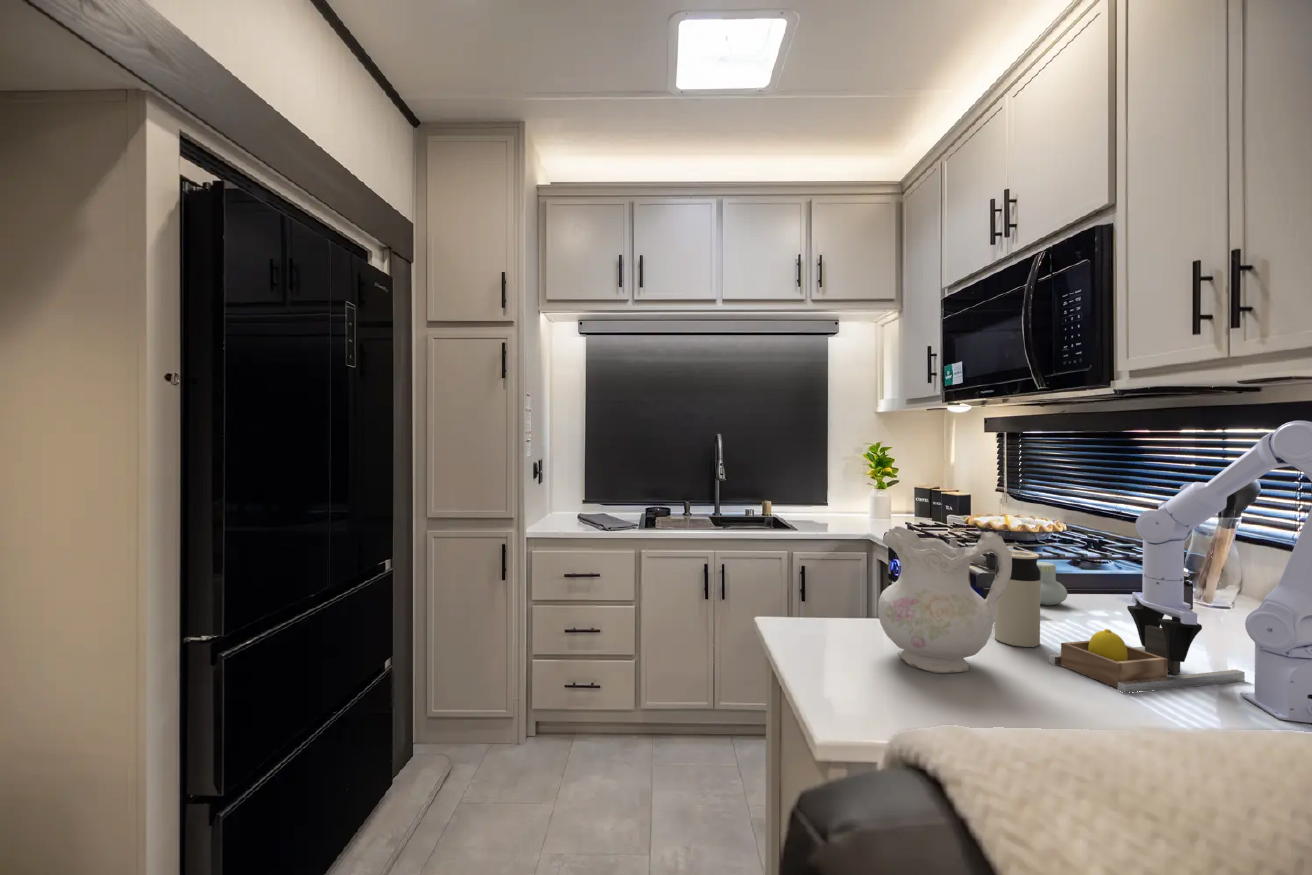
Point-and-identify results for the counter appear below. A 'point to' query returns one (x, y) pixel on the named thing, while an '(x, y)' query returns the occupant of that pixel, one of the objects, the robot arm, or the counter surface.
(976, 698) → the counter surface
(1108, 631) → the lemon
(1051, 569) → the air freshener
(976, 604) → the ceramic pitcher
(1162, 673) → the wooden tray
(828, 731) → the counter surface
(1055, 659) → the lane rails
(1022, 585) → the travel mug
